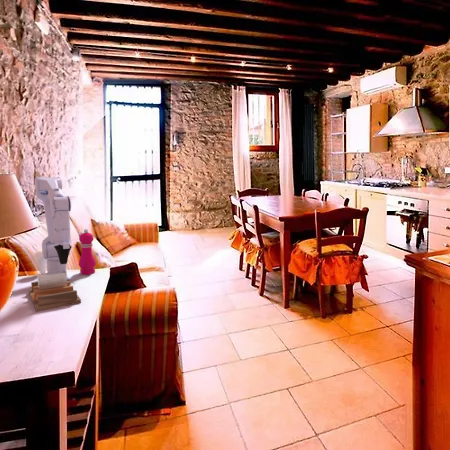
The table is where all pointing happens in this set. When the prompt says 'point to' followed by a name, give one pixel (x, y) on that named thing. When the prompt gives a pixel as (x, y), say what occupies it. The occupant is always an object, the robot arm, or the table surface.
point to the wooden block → (52, 280)
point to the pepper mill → (86, 254)
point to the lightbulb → (40, 261)
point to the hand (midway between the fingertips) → (63, 263)
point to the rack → (53, 297)
